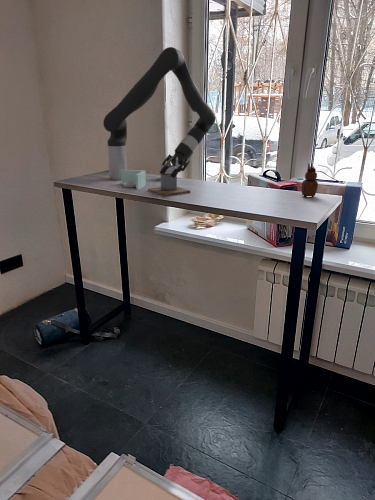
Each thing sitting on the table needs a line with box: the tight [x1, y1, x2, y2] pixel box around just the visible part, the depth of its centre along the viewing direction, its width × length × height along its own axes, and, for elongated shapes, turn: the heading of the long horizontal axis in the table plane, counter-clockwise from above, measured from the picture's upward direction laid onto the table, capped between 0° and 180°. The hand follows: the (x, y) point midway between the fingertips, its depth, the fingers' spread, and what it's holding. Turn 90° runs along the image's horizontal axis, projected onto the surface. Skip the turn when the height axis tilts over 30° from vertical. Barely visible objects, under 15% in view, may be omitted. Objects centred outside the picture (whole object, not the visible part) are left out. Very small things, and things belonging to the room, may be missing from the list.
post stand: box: [147, 174, 191, 197], centre depth 169 cm, size 14×14×8 cm
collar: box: [160, 173, 178, 191], centre depth 169 cm, size 5×5×7 cm
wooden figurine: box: [300, 162, 319, 197], centre depth 163 cm, size 7×6×15 cm
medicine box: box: [160, 161, 176, 174], centre depth 199 cm, size 8×4×9 cm, turn 84°
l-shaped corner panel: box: [121, 169, 147, 190], centre depth 180 cm, size 12×12×8 cm
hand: (166, 175), depth 167 cm, fingers open, 8 cm apart
